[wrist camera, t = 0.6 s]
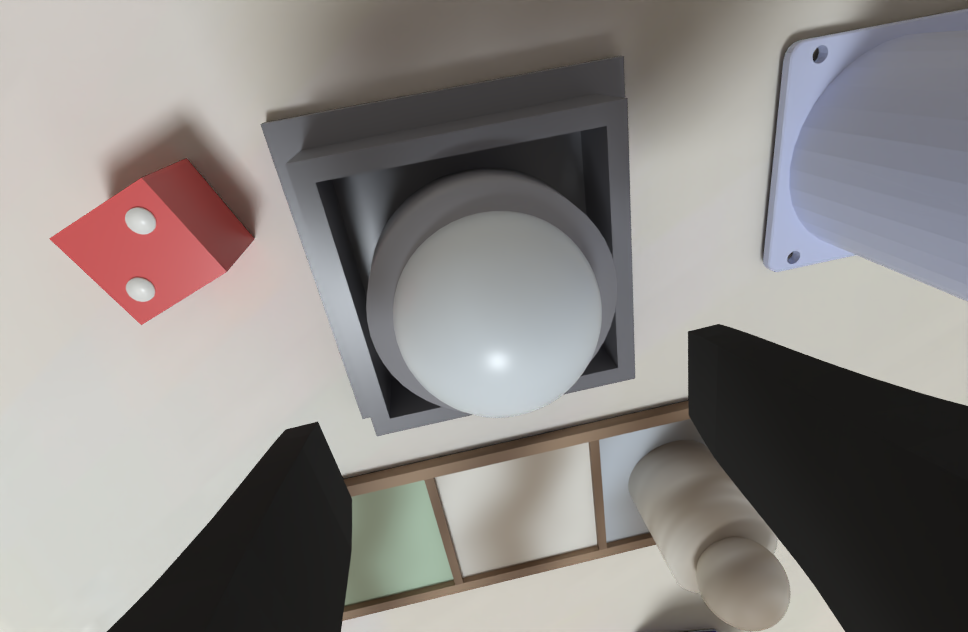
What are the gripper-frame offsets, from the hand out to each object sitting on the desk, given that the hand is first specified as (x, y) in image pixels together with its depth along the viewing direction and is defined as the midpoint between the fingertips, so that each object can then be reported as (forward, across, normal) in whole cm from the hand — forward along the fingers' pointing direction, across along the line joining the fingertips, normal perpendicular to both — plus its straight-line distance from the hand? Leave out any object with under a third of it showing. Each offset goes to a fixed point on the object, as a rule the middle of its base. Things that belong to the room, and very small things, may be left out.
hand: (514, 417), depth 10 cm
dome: (+7, 0, 0) cm, 7 cm away
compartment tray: (+9, 0, +13) cm, 16 cm away
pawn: (+9, -7, +13) cm, 18 cm away
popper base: (+9, 0, 0) cm, 9 cm away
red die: (+9, +8, -3) cm, 13 cm away
